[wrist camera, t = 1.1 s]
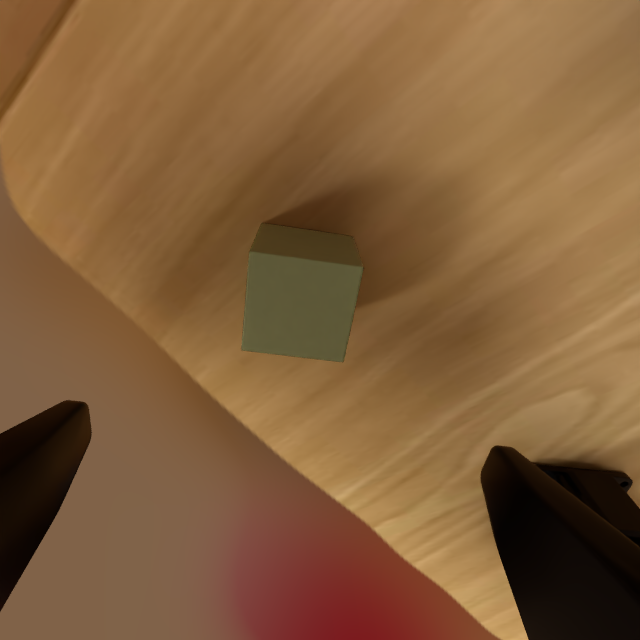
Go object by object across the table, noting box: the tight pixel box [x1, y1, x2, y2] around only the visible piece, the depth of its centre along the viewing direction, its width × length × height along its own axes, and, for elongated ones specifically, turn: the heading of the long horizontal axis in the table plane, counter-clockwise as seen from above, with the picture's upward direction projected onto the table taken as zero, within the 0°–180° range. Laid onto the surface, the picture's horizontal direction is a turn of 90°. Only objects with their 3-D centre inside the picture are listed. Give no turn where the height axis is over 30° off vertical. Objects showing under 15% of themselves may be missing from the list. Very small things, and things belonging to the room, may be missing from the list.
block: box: [241, 223, 364, 362], centre depth 17 cm, size 4×4×4 cm
